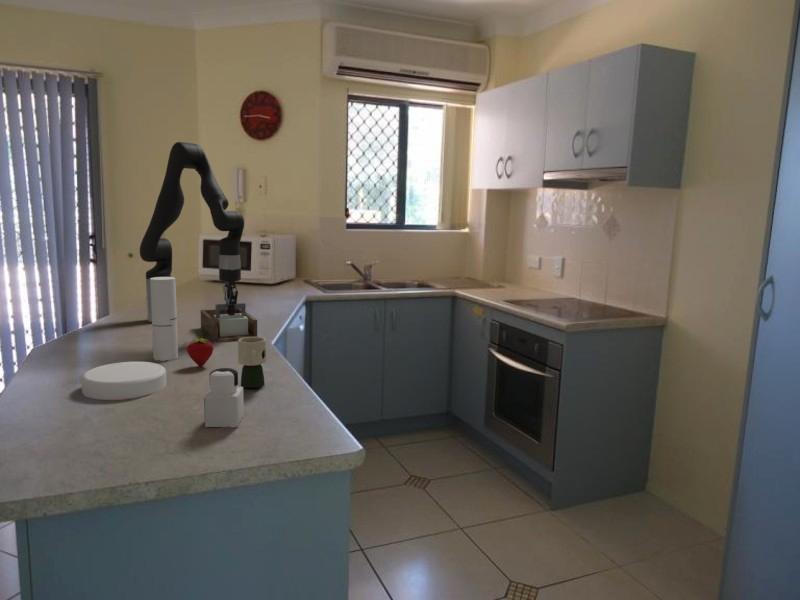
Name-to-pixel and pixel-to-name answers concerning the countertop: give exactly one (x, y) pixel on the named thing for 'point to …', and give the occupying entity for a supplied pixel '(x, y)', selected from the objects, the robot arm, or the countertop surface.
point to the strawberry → (200, 351)
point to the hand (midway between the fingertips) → (230, 314)
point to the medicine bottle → (223, 399)
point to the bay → (212, 326)
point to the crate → (231, 321)
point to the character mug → (252, 360)
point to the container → (123, 380)
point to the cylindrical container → (164, 318)
